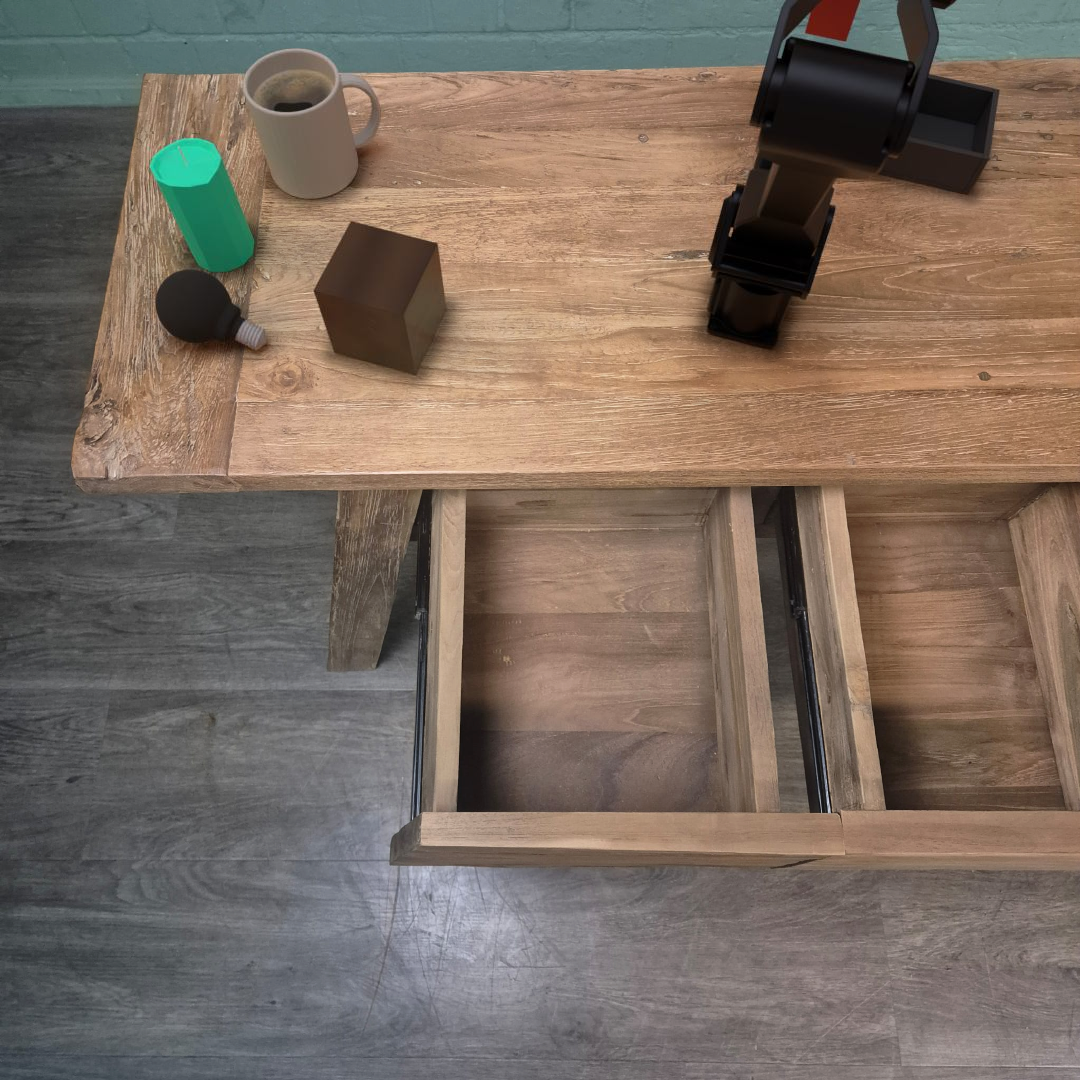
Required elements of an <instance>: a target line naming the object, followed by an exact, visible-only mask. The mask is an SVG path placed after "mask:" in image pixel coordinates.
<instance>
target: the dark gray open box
mask: <svg viewBox="0 0 1080 1080" xmlns="http://www.w3.org/2000/svg"><path fill="white" fill-rule="evenodd" d="M1000 91H1001V90H1000V89H999V88H994V87H991V86H986V85H981V84H977V83H973V82H967V81H963V80H959V79H953V78H949V77H945V76H940V75H937V74H936V75H934V74H931V73H929V75H928V78H927V82H926V85H925V88H924V92H923V95H922V98H921V102H920V105H919V109H918V112H917V115H916V118H915V121H914V124H913V127H912V129H911V132H910V134H909V137H908V139H907V142H906V144H905V146H904V148H903V150H902V152H901V154H900V155H899V157H897V158H893V157H888V158H887V160H886V162H885V164H884V166H883V168H882V169H881V171H880V172H879V173H877V174H878V175H882V176H886V177H890V178H894V179H899V180H904V181H907V182H911V183H916V184H920V185H926V186H928V187H933V188H938V189H941V190H946V191H950V192H954V193H959V194H964V195H968V196H969V195H970V193H971V192H972V189H973V188H974V187H975V184H976V183H977V181H978V179H979V177H981V174H982V172H983V171H984V169H985V167H986V166H987V164H988V162H989V161H990V156H991V149H992V143H993V136H994V131H995V124H996V118H997V111H998V104H999V103H998V102H999V97H1000ZM877 174H876V175H877Z"/></svg>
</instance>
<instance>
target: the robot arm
mask: <svg viewBox="0 0 1080 1080" xmlns="http://www.w3.org/2000/svg"><path fill="white" fill-rule="evenodd" d="M821 1H822V0H785V1H784V3H783V4H782V6H781V8H780V11H779V15H778V18H777V22H776V25H775V29H774V32H773V37H772V40H771V43H770V47H769V50H768V53H767V58H766V61H765V65H764V68H763V72H762V76H761V78H760V82H759V86H758V90H757V93H756V96H755V100H754V104H753V108H752V110H751V111H752V112H751V116H750V119H749V123H748V126H749V127H753V128H759V129H760V131H759V133H758V134H759V135H758V138H757V141H756V144H755V148H754V152H755V154H756V156H755V161H754V163H753V167H752V168H751V169H750V170H749V171H748V175H747V177H746V182H745V184H743V183H739V182H737V183H736V186H735V188H734V189H735V190H732V192H731V194H730V195H728V196H727V197H725V198H724V199H723V201H722V205H721V209H720V212H719V215H718V219H717V224H716V227H715V229H714V230H715V231H714V235H713V238H712V241H711V245H710V249H709V252H708V253H709V254H708V257H707V260H708V262H709V263H710V264H711V266H710V270H709V271H710V272H711V276H710V278H712V279H714V282H713V285H712V289H711V294H710V296H709V300H708V304H707V307H706V310H707V312H708V313H710V315H709V319H708V322H707V326H706V331H707V333H709V334H711V335H715V336H719V337H721V338H726V339H730V340H733V341H737V342H741V343H745V344H748V345H751V346H752V345H753V346H757V347H760V348H764V349H769V350H773V349H775V348H776V346H777V343H778V340H779V336H780V332H781V327H782V324H783V321H784V318H785V316H786V314H787V311H788V308H789V306H790V303H791V301H792V298H793V297H796V298H799V300H803V301H806V300H807V298H808V296H809V294H810V292H811V290H812V286H813V284H814V280H815V278H816V274H817V271H818V267H819V265H820V262H821V259H822V255H823V253H824V249H825V246H826V243H827V240H828V236H829V234H830V231H831V228H832V224H833V221H834V217H835V214H836V208H837V206H836V205H835V204H831V202H832V199H833V196H834V192H835V188H834V186H833V185H834V184H835V182H836V181H837V180H838V179H843V180H844V179H846V180H860V181H867V180H869V179H871V178H872V177H875V176H876V175H877V173H879V172H880V171H881V169H882V168H883V166H884V164H885V162H886V160H887V158H888V157H893V158H897V157H899V155H900V154H901V152H902V150H903V148H904V146H905V144H906V142H907V139H908V137H909V134H910V132H911V129H912V127H913V124H914V121H915V118H916V115H917V112H918V109H919V105H920V102H921V98H922V95H923V92H924V88H925V85H926V82H927V78H928V75H929V74H930V72H931V68H932V64H933V61H934V59H935V55H936V51H937V48H938V45H939V41H940V30H939V26H938V22H937V18H936V14H935V10H934V9H939V10H944V11H945V10H946V9H948V8H949V7H951V6H952V5H954V4H955V3H956V2H957V0H896V1H897V3H896V15H897V18H898V23H899V28H900V32H901V35H902V39H903V44H904V47H905V52H906V55H907V60H906V59H902V58H897V57H893V56H888V55H883V54H877V53H873V52H868V51H864V50H859V49H854V48H849V47H844V46H839V45H836V44H830V43H827V42H826V43H824V42H820V41H815V40H812V39H806V38H802V37H796V36H792V35H791V36H789V35H790V34H791V33H793V31H794V30H795V29H796V28H797V27H798V26H799V25H800V24H801V23H802V22H803V21H804V20H805V18H807V17H808V16H809V15H810V12H811V11H812V10H813V9H814V8H815V7H816V6H817V5H818V4H819V3H820V2H821ZM784 41H785V43H784V45H783V50H782V54H781V57H779V54H780V51H781V48H782V43H783V42H784ZM731 230H732V232H731ZM730 233H731V235H730Z"/></svg>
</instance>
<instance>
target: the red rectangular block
mask: <svg viewBox="0 0 1080 1080" xmlns="http://www.w3.org/2000/svg"><path fill="white" fill-rule="evenodd" d="M860 3H861V0H822V1H821V2H820V3H819V4H818V5H817V6H816V7H815V8H814V9H813V10H812V11H811V12H810V13H809V14H808V19H807V23H806V26H805V30H804V34H806V35H812V36H816V37H820V38H825V39H830V40H834V41H838V42H839V41H840V42H844V43H846V42H847V41H848V38H849V34H850V31H851V29H852V27H853V22H854V20H855V17H856V14H857V11H858V8H859V5H860Z"/></svg>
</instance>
